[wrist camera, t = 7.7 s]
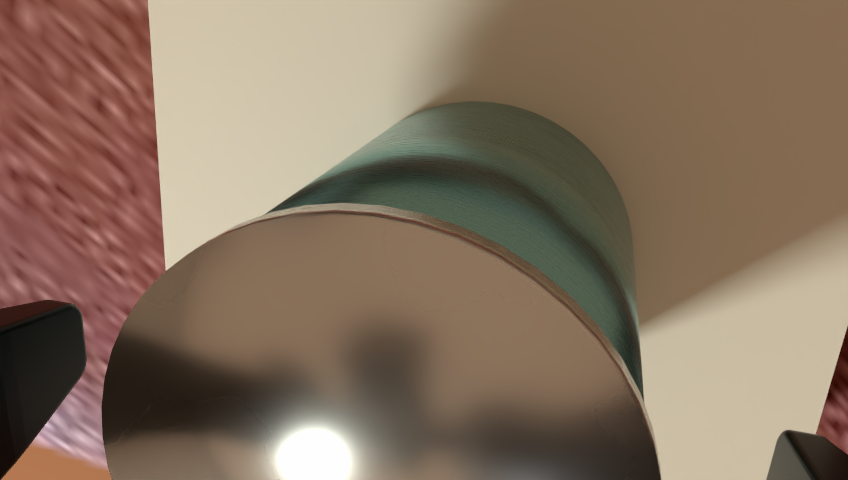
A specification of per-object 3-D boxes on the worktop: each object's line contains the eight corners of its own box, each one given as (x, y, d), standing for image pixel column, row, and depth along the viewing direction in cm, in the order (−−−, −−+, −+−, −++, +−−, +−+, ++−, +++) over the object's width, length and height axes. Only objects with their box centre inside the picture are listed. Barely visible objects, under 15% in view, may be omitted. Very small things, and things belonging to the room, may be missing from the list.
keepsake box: (865, -87, 15) (978, -113, 10) (729, 453, 19) (765, 600, 15) (262, -117, 17) (137, -148, 13) (269, 367, 22) (179, 471, 17)
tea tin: (665, 113, 12) (723, 269, 6) (612, 413, 14) (611, 772, 8) (332, 79, 13) (75, 178, 7) (327, 361, 15) (124, 637, 9)
